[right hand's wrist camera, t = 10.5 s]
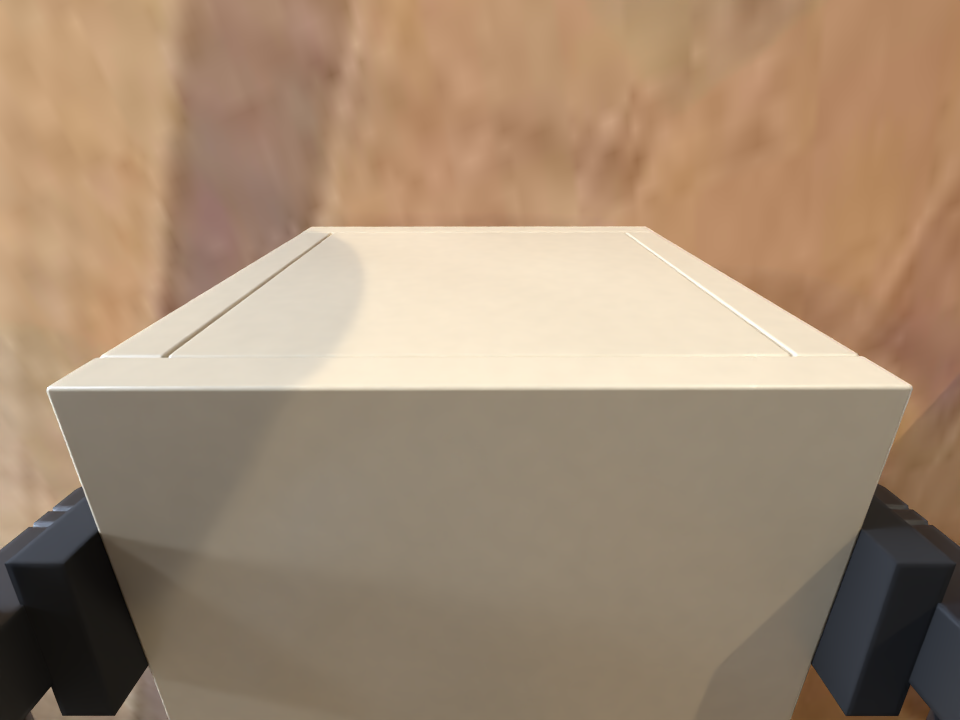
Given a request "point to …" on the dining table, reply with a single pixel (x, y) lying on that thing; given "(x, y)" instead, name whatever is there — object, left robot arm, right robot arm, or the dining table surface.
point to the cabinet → (479, 481)
